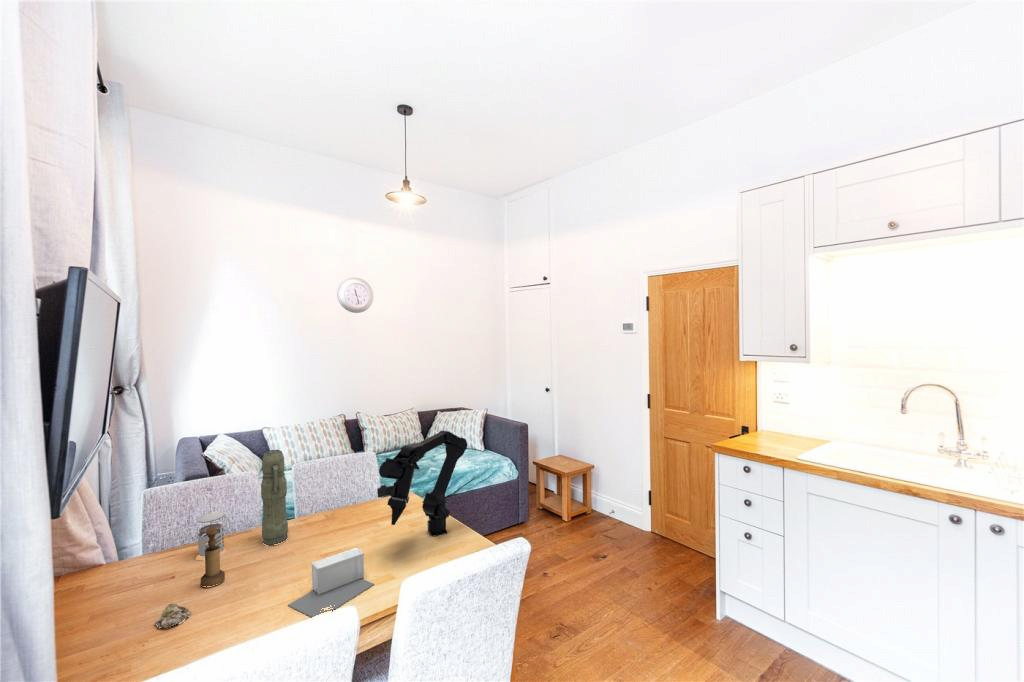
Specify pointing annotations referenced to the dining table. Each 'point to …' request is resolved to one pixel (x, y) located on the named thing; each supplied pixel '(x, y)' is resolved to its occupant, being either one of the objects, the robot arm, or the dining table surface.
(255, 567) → the dining table surface
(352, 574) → the skincare box
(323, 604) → the mat
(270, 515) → the thermos
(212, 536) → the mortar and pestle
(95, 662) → the dining table surface
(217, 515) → the french press
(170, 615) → the mineral rock
